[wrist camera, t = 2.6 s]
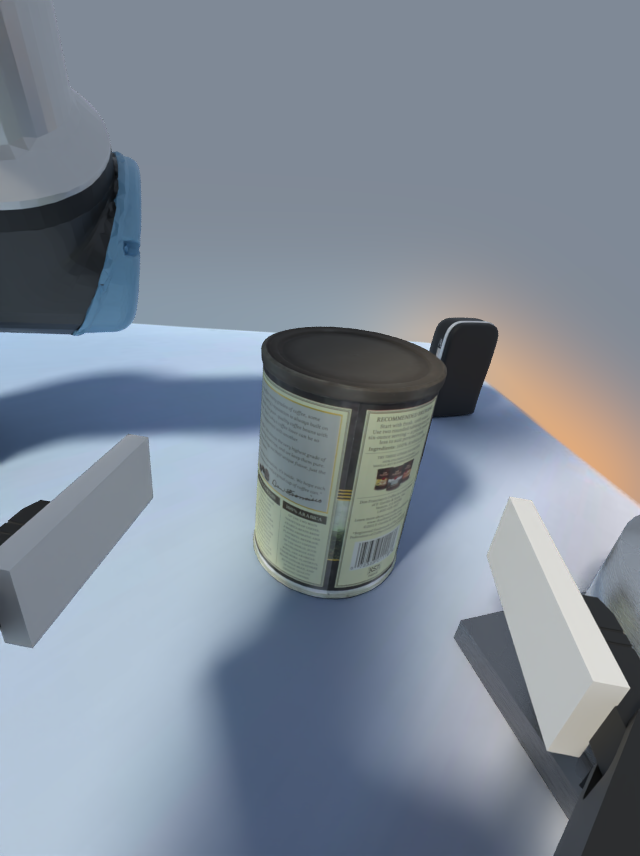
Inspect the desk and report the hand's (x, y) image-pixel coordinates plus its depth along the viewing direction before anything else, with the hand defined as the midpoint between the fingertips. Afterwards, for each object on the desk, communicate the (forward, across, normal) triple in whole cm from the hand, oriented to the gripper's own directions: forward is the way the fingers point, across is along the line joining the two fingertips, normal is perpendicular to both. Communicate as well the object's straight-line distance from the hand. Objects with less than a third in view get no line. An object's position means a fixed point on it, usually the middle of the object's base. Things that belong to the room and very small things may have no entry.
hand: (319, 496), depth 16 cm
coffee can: (+11, 0, -12) cm, 16 cm away
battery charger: (+37, +12, -12) cm, 41 cm away
